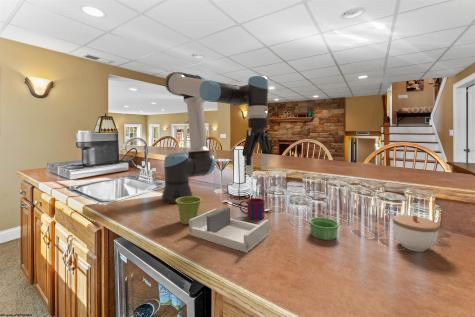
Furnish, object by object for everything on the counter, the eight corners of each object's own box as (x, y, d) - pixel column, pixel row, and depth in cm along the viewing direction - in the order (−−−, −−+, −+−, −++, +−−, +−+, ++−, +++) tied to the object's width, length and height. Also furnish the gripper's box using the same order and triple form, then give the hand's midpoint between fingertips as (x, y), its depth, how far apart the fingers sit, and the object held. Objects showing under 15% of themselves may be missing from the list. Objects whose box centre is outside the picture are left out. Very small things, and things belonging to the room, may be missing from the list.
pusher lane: (189, 234, 76) (188, 219, 76) (215, 221, 88) (215, 208, 87) (246, 253, 64) (246, 235, 64) (268, 234, 76) (268, 220, 75)
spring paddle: (206, 233, 74) (206, 216, 73) (227, 222, 83) (227, 207, 82) (209, 234, 73) (209, 217, 72) (230, 223, 82) (230, 207, 82)
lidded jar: (447, 255, 63) (450, 221, 62) (410, 256, 62) (413, 223, 61) (414, 237, 74) (416, 209, 73) (382, 239, 73) (384, 210, 72)
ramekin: (305, 229, 81) (306, 217, 80) (331, 229, 80) (332, 217, 80) (313, 241, 72) (314, 227, 71) (342, 241, 71) (343, 227, 71)
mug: (263, 220, 88) (263, 203, 88) (237, 218, 91) (237, 201, 90) (265, 215, 95) (265, 198, 94) (242, 212, 97) (242, 197, 97)
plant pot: (192, 215, 94) (192, 194, 93) (206, 222, 87) (206, 199, 86) (171, 221, 87) (170, 199, 86) (185, 229, 80) (184, 204, 80)
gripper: (251, 115, 78) (251, 177, 80) (278, 119, 99) (277, 168, 101) (232, 116, 82) (232, 175, 84) (262, 120, 103) (262, 167, 105)
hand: (257, 171), depth 93 cm, fingers open, 13 cm apart
